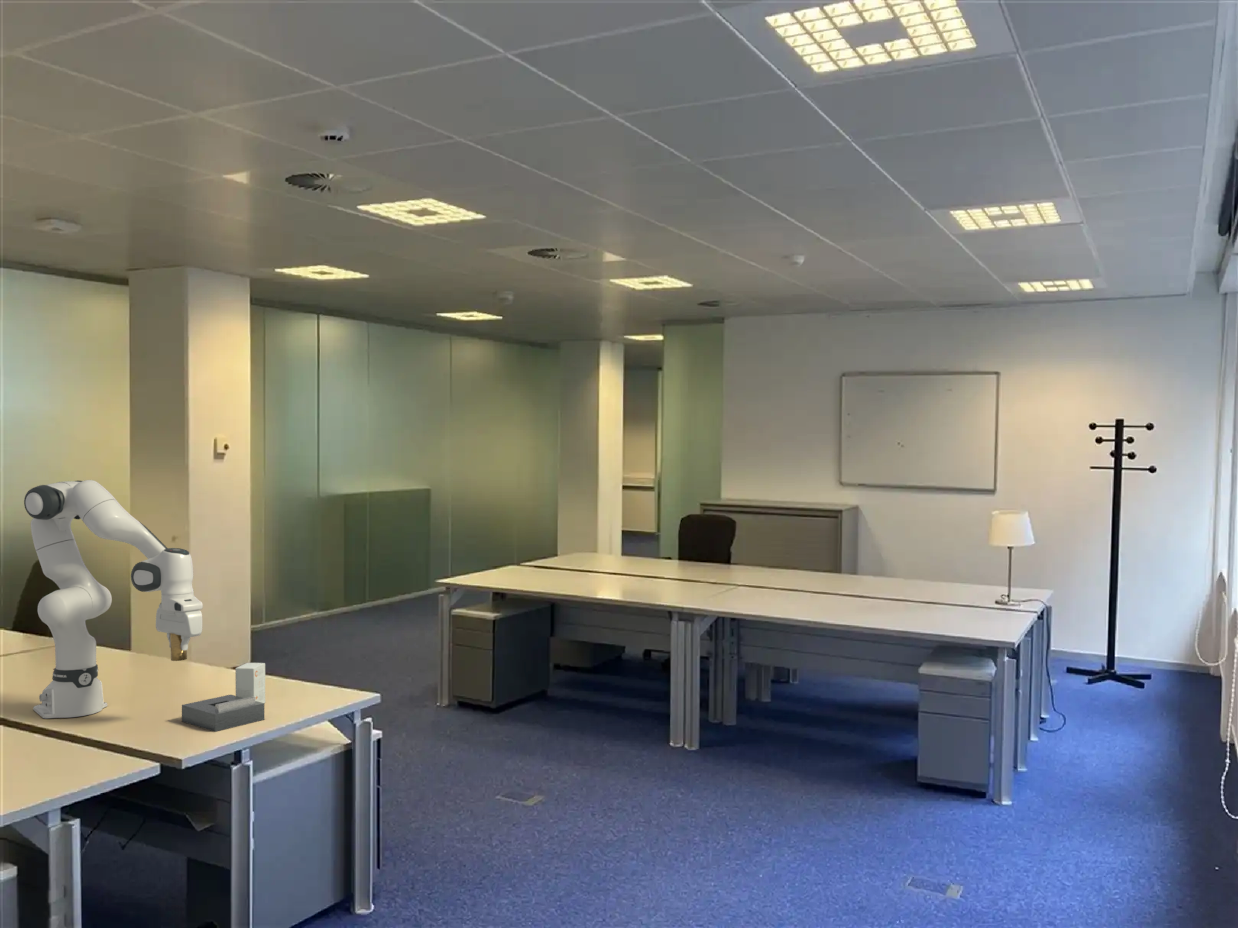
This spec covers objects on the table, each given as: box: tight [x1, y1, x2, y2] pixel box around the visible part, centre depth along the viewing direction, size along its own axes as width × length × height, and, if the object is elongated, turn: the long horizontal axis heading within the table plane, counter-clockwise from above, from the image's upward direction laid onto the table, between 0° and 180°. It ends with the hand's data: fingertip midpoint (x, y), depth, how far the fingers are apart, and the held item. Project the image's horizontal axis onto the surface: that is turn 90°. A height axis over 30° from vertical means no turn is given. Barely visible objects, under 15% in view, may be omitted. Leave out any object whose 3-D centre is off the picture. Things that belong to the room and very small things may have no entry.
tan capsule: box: [170, 633, 188, 662], centre depth 290 cm, size 4×4×8 cm
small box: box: [234, 662, 266, 704], centre depth 310 cm, size 8×6×13 cm
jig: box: [181, 694, 265, 733], centre depth 293 cm, size 18×16×7 cm
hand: (178, 648), depth 290 cm, fingers closed on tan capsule, 4 cm apart
